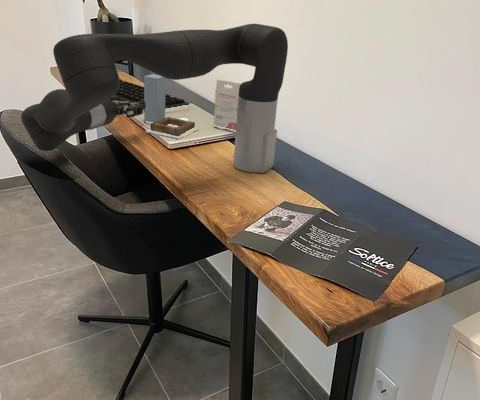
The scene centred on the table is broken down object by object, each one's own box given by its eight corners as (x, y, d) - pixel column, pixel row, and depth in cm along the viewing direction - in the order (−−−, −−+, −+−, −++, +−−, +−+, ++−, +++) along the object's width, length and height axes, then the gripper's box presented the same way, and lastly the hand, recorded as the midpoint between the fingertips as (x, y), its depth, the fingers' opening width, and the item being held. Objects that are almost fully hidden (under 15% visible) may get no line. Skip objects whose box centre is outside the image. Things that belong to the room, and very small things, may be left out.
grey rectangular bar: (164, 122, 151) (165, 76, 145) (156, 125, 147) (157, 78, 141) (152, 119, 152) (152, 74, 147) (144, 122, 149) (144, 76, 143)
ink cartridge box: (244, 129, 150) (248, 81, 144) (237, 133, 146) (241, 83, 140) (220, 124, 154) (223, 77, 148) (212, 127, 150) (215, 79, 144)
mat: (199, 129, 146) (199, 128, 146) (178, 139, 136) (178, 138, 136) (167, 123, 150) (168, 121, 150) (145, 132, 140) (145, 130, 140)
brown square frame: (194, 128, 145) (194, 122, 145) (178, 136, 138) (178, 129, 137) (168, 123, 149) (168, 116, 148) (150, 130, 141) (150, 123, 140)
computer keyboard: (188, 110, 168) (189, 99, 167) (151, 117, 157) (151, 105, 156) (113, 85, 195) (113, 75, 193) (77, 89, 184) (76, 78, 182)
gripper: (71, 122, 127) (111, 110, 141) (116, 132, 122) (152, 119, 136) (69, 93, 124) (110, 84, 138) (115, 103, 119) (153, 92, 133)
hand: (131, 101), depth 137 cm, fingers open, 8 cm apart
